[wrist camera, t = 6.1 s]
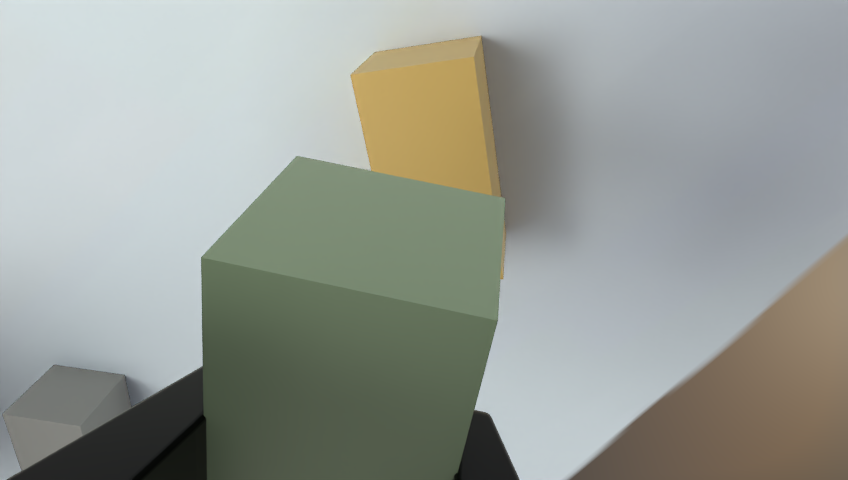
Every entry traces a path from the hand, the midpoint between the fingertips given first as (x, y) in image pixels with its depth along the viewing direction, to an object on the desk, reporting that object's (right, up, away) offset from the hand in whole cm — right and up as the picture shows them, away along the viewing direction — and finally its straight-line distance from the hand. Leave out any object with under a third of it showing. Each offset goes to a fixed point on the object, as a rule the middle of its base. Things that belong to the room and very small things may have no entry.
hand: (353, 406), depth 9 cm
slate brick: (-12, -5, +18) cm, 22 cm away
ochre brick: (+2, +5, +10) cm, 11 cm away
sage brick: (0, +1, +1) cm, 2 cm away
